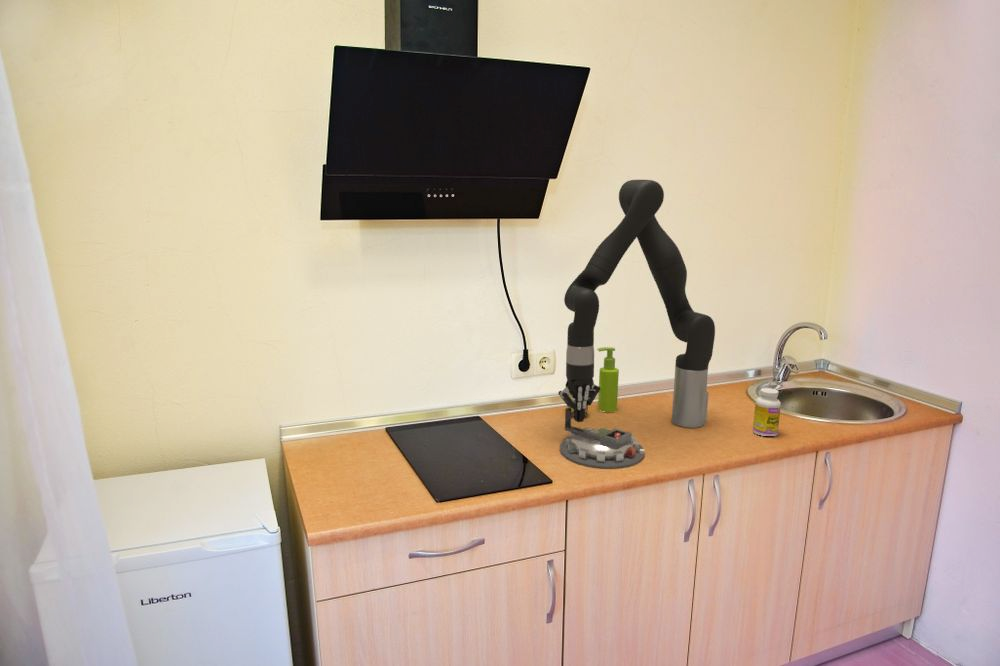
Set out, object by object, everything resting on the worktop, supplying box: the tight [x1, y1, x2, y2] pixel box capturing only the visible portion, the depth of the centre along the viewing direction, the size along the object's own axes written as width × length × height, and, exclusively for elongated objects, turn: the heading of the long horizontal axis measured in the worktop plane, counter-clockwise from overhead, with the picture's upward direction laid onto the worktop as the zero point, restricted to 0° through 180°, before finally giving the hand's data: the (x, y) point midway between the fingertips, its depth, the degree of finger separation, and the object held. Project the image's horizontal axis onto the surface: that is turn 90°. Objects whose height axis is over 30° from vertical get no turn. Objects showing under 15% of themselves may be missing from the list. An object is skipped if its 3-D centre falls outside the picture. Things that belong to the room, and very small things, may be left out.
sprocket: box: [564, 408, 640, 462], centre depth 170 cm, size 19×21×8 cm
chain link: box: [600, 428, 633, 450], centre depth 168 cm, size 7×5×2 cm
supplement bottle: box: [752, 387, 782, 437], centre depth 183 cm, size 7×7×13 cm
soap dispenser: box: [596, 346, 620, 413], centre depth 201 cm, size 6×7×20 cm
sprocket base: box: [559, 438, 646, 470], centre depth 171 cm, size 22×22×2 cm
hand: (579, 421), depth 179 cm, fingers closed
